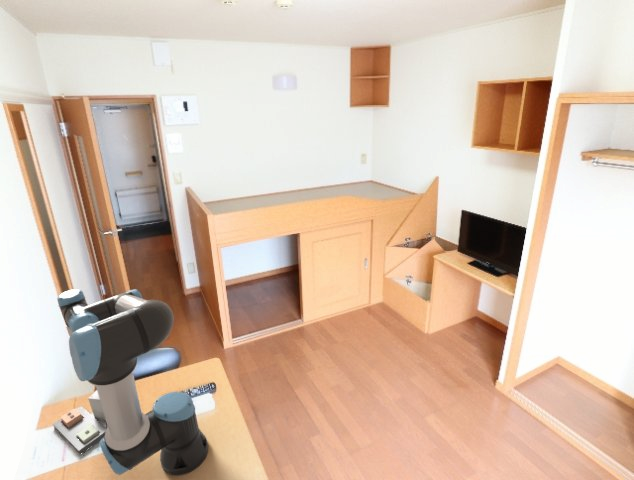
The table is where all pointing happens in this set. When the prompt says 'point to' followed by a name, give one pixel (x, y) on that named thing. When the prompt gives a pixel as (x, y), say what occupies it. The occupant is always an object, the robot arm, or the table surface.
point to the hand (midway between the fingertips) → (99, 384)
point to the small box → (96, 406)
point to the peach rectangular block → (71, 418)
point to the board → (72, 431)
